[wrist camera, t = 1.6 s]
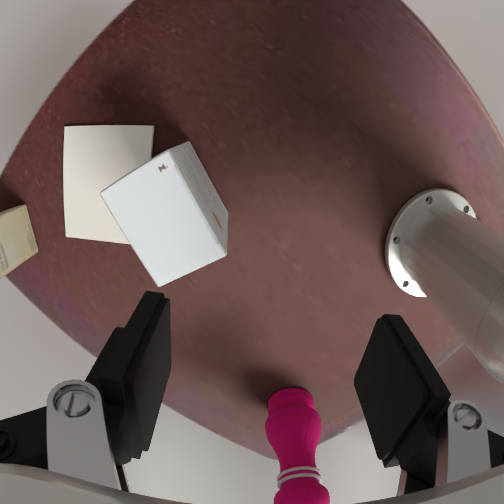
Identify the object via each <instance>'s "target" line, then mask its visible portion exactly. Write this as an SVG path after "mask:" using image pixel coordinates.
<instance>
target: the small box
mask: <svg viewBox="0 0 504 504" xmlns="http://www.w3.org/2000/svg"><path fill="white" fill-rule="evenodd" d="M100 195H101V197H102V198H103V200H104V202H105V204H106V205H107V207H108V209H109V210H110V212H111V214H112V215H113V217H114V219H115V220H116V222H117V224H118V225H119V227H120V229H121V230H122V232H123V233H124V235H125V237H126V238H127V240H128V241H129V243H130V245H131V246H132V248H133V249H134V251H135V252H136V254H137V256H138V257H139V259H140V260H141V262H142V263H143V265H144V266H145V268H146V269H147V271H148V273H149V274H150V276H151V277H152V279H153V280H154V281H155V283H156V285H157V286H158V287H160V286H162V285H164V284H167V283H169V282H171V281H173V280H175V279H177V278H180V277H182V276H184V275H186V274H188V273H190V272H192V271H195V270H197V269H199V268H201V267H203V266H205V265H207V264H210V263H212V262H214V261H216V260H218V259H220V258H222V257H225V256H226V255H227V227H228V212H227V210H226V208H225V206H224V204H223V203H222V201H221V199H220V197H219V195H218V193H217V191H216V190H215V188H214V186H213V184H212V182H211V180H210V178H209V177H208V175H207V173H206V171H205V169H204V167H203V165H202V164H201V162H200V160H199V158H198V156H197V154H196V152H195V150H194V149H193V147H192V145H191V143H190V141H187V142H185V143H183V144H181V145H178V146H175V147H173V148H170V149H168V150H166V151H164V152H162V153H161V154H159V155H157V156H155V157H154V158H152V159H150V160H148V161H147V162H145V163H143V164H142V165H140V166H138V167H137V168H135V169H133V170H132V171H130V172H129V173H127V174H126V175H124V176H123V177H121V178H120V179H118V180H117V181H115V182H114V183H112V184H111V185H109V186H108V187H106V188H105V189H103V190H102V191H101V192H100Z"/></svg>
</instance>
